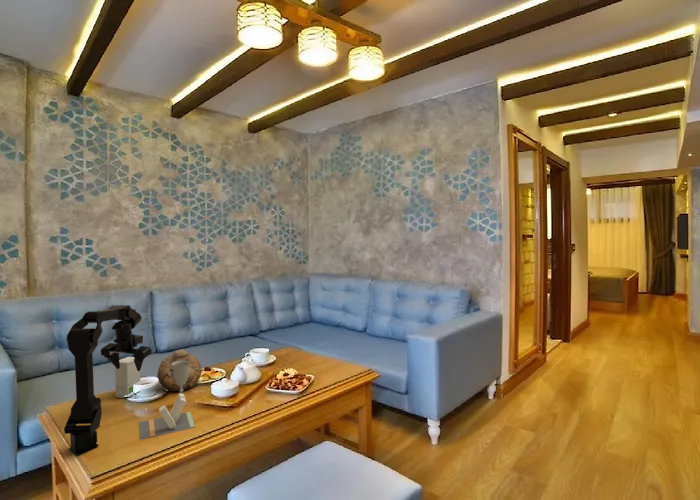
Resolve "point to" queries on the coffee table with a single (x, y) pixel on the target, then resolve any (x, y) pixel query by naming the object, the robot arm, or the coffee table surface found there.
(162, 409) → the handle
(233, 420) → the coffee table surface
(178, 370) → the chalice
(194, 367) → the buddha statue
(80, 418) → the robot arm
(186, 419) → the slat rack base
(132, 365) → the skincare box
